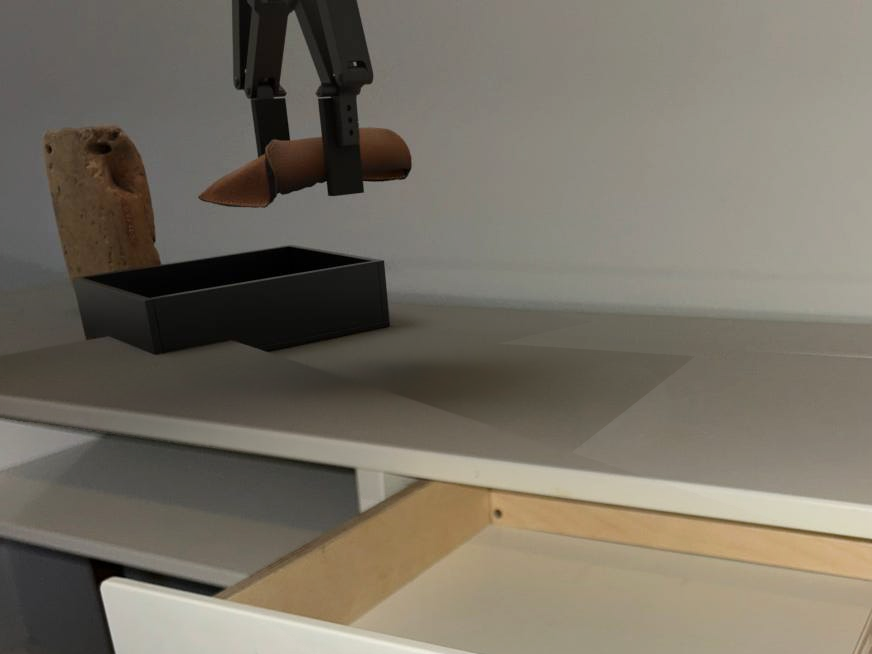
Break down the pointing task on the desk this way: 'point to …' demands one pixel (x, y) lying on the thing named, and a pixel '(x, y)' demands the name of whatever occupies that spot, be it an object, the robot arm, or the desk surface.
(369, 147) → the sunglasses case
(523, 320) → the desk surface
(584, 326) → the desk surface
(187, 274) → the open box
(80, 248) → the block
